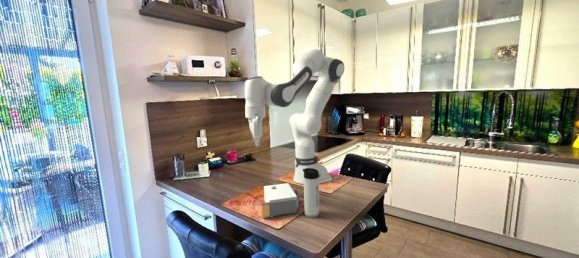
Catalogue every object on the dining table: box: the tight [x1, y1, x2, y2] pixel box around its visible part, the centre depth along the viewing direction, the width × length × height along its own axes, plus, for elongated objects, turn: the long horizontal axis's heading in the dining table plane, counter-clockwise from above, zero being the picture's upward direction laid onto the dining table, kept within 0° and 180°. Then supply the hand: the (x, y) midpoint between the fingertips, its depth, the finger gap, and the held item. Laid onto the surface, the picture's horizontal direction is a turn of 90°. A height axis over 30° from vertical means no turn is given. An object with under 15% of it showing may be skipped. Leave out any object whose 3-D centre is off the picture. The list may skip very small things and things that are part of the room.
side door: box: [260, 197, 299, 219], centre depth 104 cm, size 16×1×6 cm, turn 104°
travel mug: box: [303, 168, 320, 219], centre depth 103 cm, size 6×7×20 cm
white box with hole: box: [263, 182, 299, 203], centre depth 113 cm, size 14×16×8 cm
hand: (256, 143), depth 112 cm, fingers open, 8 cm apart
